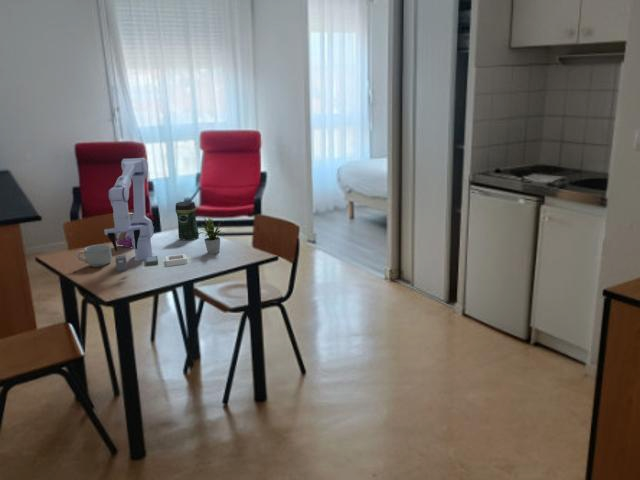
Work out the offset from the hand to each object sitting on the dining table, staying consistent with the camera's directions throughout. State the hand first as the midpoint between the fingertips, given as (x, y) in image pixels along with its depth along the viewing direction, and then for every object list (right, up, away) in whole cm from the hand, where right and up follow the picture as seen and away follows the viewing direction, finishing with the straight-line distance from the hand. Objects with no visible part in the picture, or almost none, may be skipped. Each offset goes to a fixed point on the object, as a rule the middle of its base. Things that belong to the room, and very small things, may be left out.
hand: (126, 249), depth 242 cm
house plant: (+29, -2, +27) cm, 40 cm away
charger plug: (-3, -9, +5) cm, 11 cm away
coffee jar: (+13, +5, +56) cm, 58 cm away
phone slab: (+7, -6, +13) cm, 15 cm away
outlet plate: (+13, -6, +12) cm, 19 cm away
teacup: (-18, -7, +15) cm, 24 cm away
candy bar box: (-14, +1, +47) cm, 49 cm away
